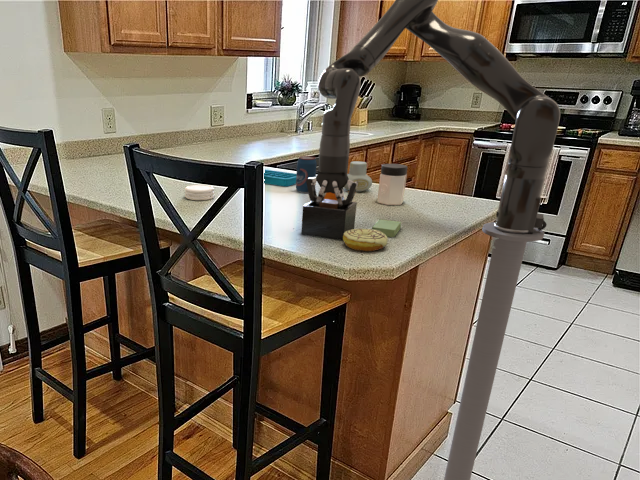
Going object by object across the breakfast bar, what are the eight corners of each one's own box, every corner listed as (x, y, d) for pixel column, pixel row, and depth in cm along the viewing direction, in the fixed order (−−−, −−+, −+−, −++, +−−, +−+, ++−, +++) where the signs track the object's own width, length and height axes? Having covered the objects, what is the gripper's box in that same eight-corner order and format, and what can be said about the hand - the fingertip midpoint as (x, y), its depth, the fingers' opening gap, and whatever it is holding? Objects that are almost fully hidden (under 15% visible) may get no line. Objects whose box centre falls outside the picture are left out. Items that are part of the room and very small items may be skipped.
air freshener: (367, 188, 195) (370, 160, 191) (373, 192, 188) (376, 164, 184) (338, 188, 195) (341, 160, 191) (343, 192, 187) (346, 164, 183)
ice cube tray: (286, 187, 195) (287, 179, 194) (244, 180, 207) (244, 172, 205) (303, 182, 204) (303, 174, 203) (261, 176, 215) (261, 168, 214)
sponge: (378, 226, 148) (379, 219, 148) (400, 228, 146) (401, 221, 145) (371, 234, 141) (372, 227, 140) (393, 237, 139) (394, 230, 138)
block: (340, 217, 142) (341, 200, 140) (335, 221, 138) (336, 204, 136) (323, 215, 144) (325, 198, 142) (318, 219, 140) (319, 202, 138)
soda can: (291, 191, 190) (293, 157, 185) (304, 188, 194) (306, 155, 189) (306, 194, 185) (308, 159, 180) (318, 191, 189) (321, 157, 184)
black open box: (354, 230, 144) (356, 202, 141) (343, 240, 136) (346, 210, 133) (314, 224, 149) (315, 197, 146) (301, 234, 140) (302, 205, 137)
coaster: (216, 200, 176) (216, 189, 175) (187, 201, 174) (187, 191, 173) (211, 193, 185) (210, 183, 184) (183, 195, 183) (182, 184, 182)
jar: (371, 201, 176) (375, 165, 171) (387, 198, 180) (391, 162, 175) (392, 206, 169) (397, 169, 164) (408, 203, 173) (414, 166, 168)
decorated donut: (393, 251, 128) (395, 236, 126) (352, 254, 126) (354, 239, 124) (375, 238, 137) (376, 225, 135) (336, 241, 135) (337, 227, 133)
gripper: (365, 153, 134) (359, 218, 141) (312, 149, 140) (308, 212, 147) (358, 157, 128) (351, 225, 135) (302, 153, 134) (299, 218, 141)
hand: (329, 217), depth 141 cm, fingers closed on block, 4 cm apart
